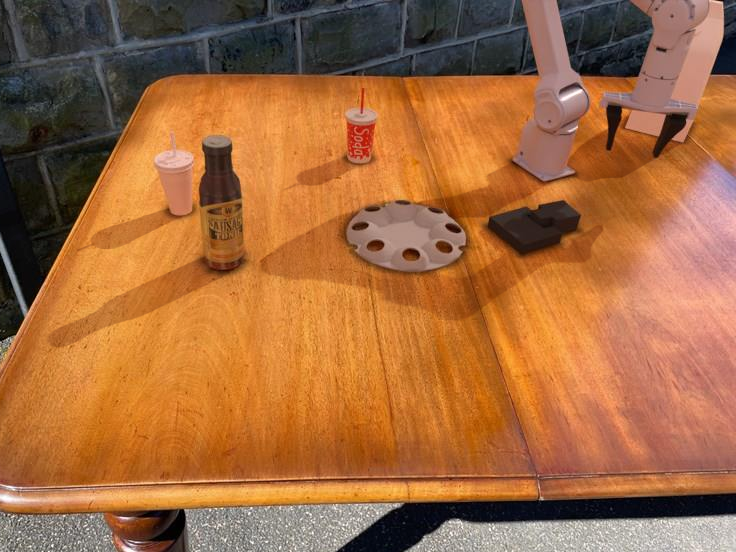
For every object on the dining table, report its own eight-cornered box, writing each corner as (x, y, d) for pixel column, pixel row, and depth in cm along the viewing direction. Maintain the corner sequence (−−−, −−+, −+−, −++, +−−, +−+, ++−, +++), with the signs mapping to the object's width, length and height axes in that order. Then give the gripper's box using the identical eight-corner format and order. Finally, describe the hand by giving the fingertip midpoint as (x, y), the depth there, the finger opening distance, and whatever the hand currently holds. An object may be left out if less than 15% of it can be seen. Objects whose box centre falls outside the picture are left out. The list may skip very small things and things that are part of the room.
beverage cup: (338, 161, 123) (341, 91, 114) (350, 148, 128) (353, 79, 119) (368, 167, 122) (373, 97, 113) (378, 154, 126) (384, 85, 117)
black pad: (487, 226, 107) (489, 216, 106) (524, 215, 110) (526, 205, 109) (521, 255, 101) (524, 244, 100) (559, 242, 104) (563, 232, 103)
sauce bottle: (212, 277, 95) (197, 155, 82) (199, 254, 99) (182, 136, 86) (253, 265, 97) (244, 146, 84) (238, 244, 101) (228, 127, 88)
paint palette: (400, 192, 115) (401, 182, 114) (489, 237, 105) (491, 227, 103) (321, 233, 104) (322, 223, 103) (412, 288, 94) (414, 277, 93)
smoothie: (207, 205, 110) (198, 129, 101) (185, 223, 105) (174, 146, 96) (176, 196, 112) (165, 121, 103) (154, 214, 107) (140, 137, 98)
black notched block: (523, 221, 109) (527, 206, 107) (558, 214, 111) (563, 199, 109) (540, 237, 105) (544, 222, 103) (576, 229, 107) (581, 214, 105)
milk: (692, 123, 142) (743, -1, 125) (682, 142, 134) (736, 12, 117) (636, 110, 146) (678, -12, 130) (624, 128, 139) (668, 1, 122)
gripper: (705, 70, 102) (673, 148, 111) (610, 59, 105) (587, 135, 114) (711, 86, 97) (678, 166, 106) (612, 73, 100) (587, 152, 109)
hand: (631, 151), depth 109 cm, fingers open, 7 cm apart
